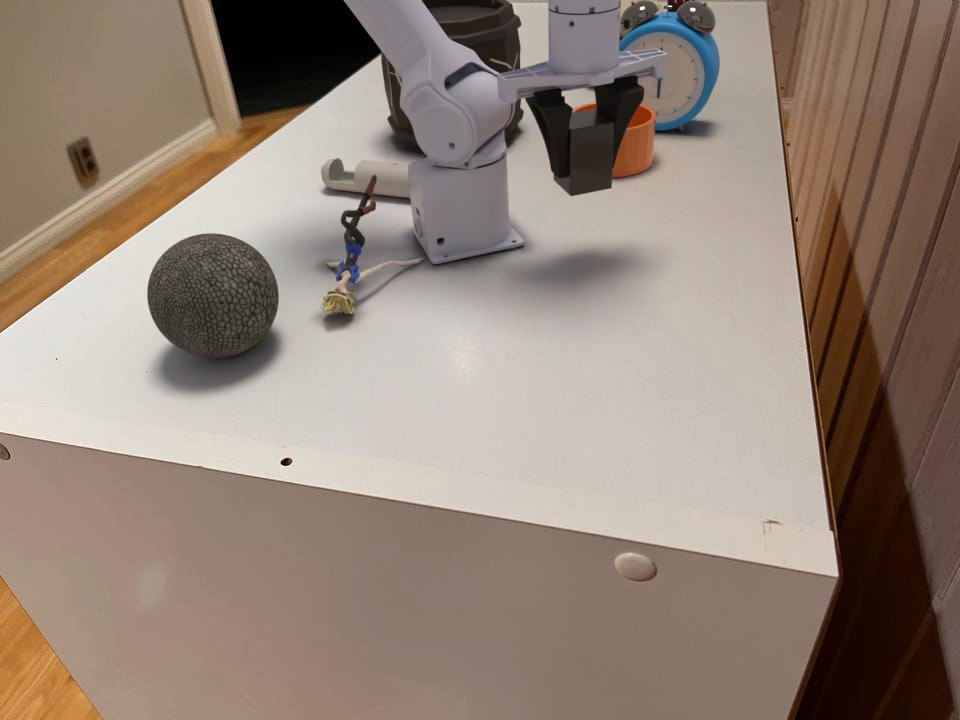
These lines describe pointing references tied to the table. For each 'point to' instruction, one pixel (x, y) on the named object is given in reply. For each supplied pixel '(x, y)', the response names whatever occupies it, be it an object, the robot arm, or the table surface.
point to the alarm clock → (674, 58)
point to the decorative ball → (213, 295)
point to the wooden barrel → (478, 26)
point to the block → (588, 153)
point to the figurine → (354, 256)
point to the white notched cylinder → (367, 177)
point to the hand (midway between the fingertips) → (582, 169)
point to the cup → (633, 142)
